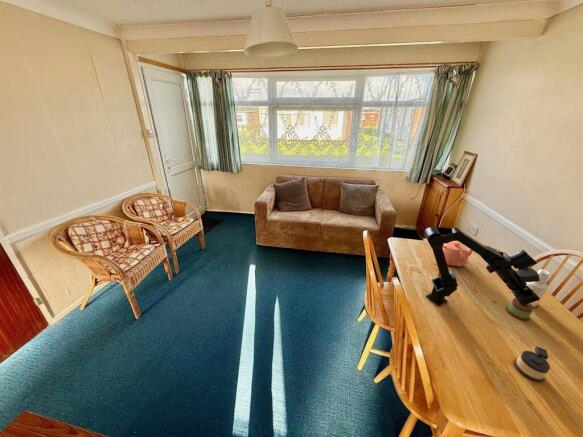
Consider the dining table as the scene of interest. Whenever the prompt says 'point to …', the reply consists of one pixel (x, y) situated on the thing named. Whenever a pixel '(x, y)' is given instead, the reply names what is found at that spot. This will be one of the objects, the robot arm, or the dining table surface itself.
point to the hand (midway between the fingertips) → (527, 297)
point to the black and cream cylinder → (532, 366)
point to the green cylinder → (520, 309)
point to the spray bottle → (539, 285)
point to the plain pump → (541, 353)
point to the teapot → (456, 253)
